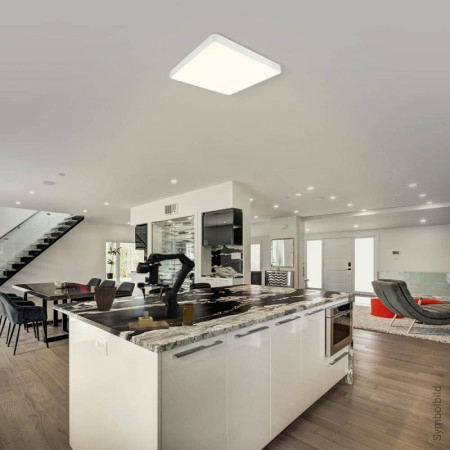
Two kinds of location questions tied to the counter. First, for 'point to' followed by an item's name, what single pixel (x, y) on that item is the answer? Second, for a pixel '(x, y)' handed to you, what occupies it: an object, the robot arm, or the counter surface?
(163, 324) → the board
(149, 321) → the open wall cube
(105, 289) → the plant pot
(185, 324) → the condiment
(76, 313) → the counter surface
